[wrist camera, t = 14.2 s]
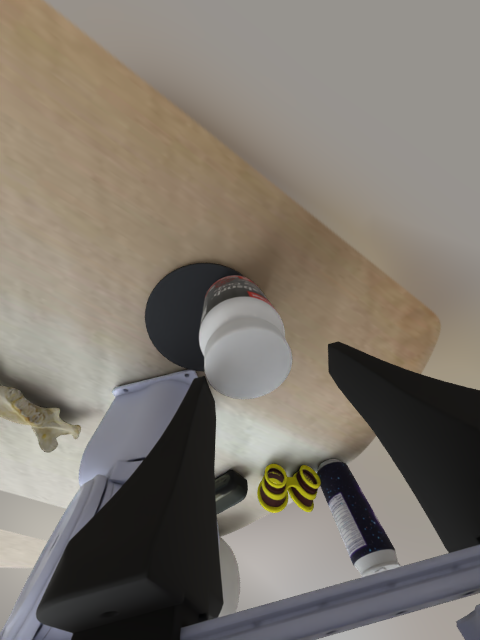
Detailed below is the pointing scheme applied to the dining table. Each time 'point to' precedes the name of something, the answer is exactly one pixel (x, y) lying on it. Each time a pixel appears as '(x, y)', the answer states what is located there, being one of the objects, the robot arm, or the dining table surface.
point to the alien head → (229, 579)
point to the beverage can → (356, 520)
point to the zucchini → (229, 490)
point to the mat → (182, 312)
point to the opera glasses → (288, 488)
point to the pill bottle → (242, 340)
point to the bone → (35, 418)
